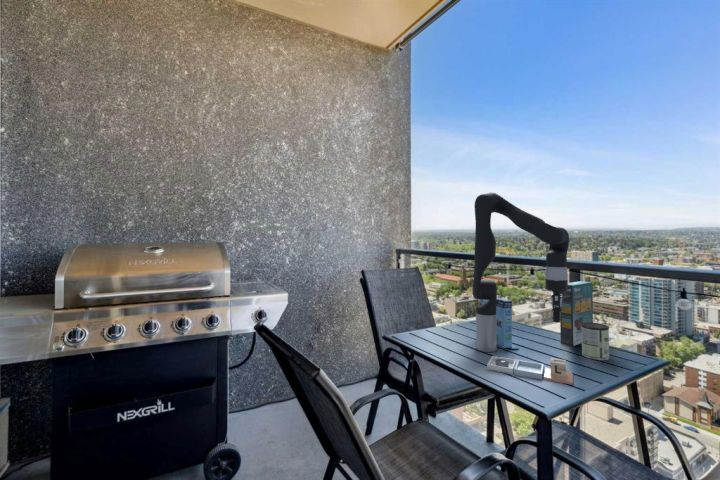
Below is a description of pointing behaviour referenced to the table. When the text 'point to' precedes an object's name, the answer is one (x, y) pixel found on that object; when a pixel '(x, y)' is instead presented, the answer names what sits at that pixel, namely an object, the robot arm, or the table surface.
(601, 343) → the coffee can
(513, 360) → the near tray
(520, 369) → the middle tray
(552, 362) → the letter cube
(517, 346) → the table surface
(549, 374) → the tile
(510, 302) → the gum box
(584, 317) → the cake mix box
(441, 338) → the table surface
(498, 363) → the grey domed disc
